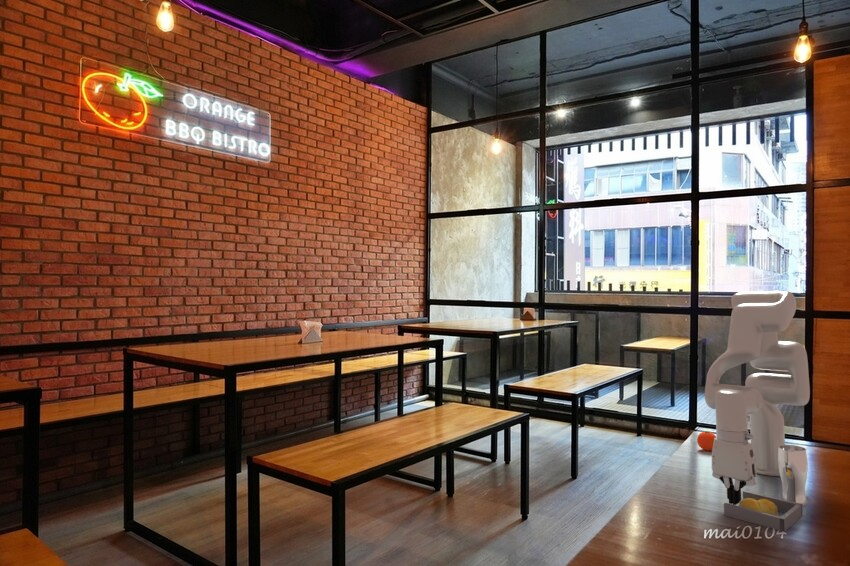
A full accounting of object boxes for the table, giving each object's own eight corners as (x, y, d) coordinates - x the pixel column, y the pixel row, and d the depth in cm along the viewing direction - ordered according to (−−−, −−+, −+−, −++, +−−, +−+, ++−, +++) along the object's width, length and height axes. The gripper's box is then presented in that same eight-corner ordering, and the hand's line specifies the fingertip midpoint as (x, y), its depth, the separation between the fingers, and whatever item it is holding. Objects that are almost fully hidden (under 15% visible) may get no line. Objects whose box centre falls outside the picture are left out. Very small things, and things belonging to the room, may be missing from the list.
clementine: (699, 446, 209) (698, 427, 209) (720, 448, 205) (719, 429, 205) (695, 451, 203) (695, 432, 203) (716, 454, 199) (716, 434, 199)
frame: (744, 501, 155) (744, 490, 155) (802, 515, 144) (802, 504, 144) (724, 515, 146) (723, 503, 146) (784, 531, 135) (784, 519, 135)
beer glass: (814, 507, 150) (812, 451, 150) (785, 505, 151) (783, 451, 151) (802, 497, 156) (800, 444, 157) (775, 496, 158) (773, 444, 158)
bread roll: (737, 506, 152) (737, 491, 152) (776, 511, 148) (775, 496, 148) (740, 517, 144) (739, 502, 144) (780, 523, 140) (780, 507, 140)
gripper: (767, 438, 147) (770, 507, 147) (709, 428, 159) (711, 492, 159) (756, 443, 143) (759, 514, 142) (697, 433, 154) (700, 499, 154)
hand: (734, 502), depth 150 cm, fingers closed
